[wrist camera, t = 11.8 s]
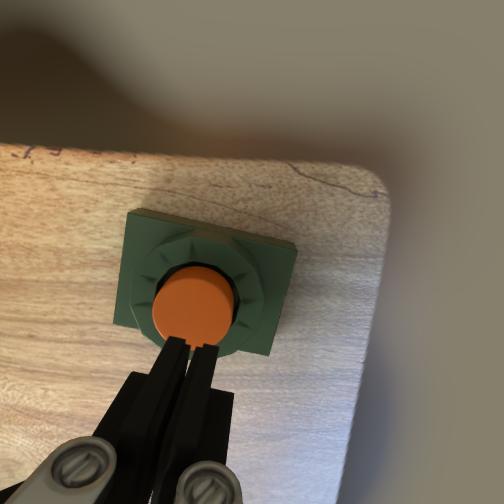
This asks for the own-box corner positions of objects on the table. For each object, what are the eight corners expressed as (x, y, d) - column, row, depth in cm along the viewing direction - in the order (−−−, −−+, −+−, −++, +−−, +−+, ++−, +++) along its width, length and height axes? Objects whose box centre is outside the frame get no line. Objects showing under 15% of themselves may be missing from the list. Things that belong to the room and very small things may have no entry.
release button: (241, 274, 16) (239, 287, 15) (226, 338, 17) (223, 358, 16) (168, 258, 16) (158, 270, 14) (156, 324, 17) (146, 342, 15)
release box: (294, 242, 19) (303, 260, 16) (267, 341, 21) (270, 376, 18) (138, 207, 19) (112, 218, 15) (123, 311, 20) (98, 341, 17)
